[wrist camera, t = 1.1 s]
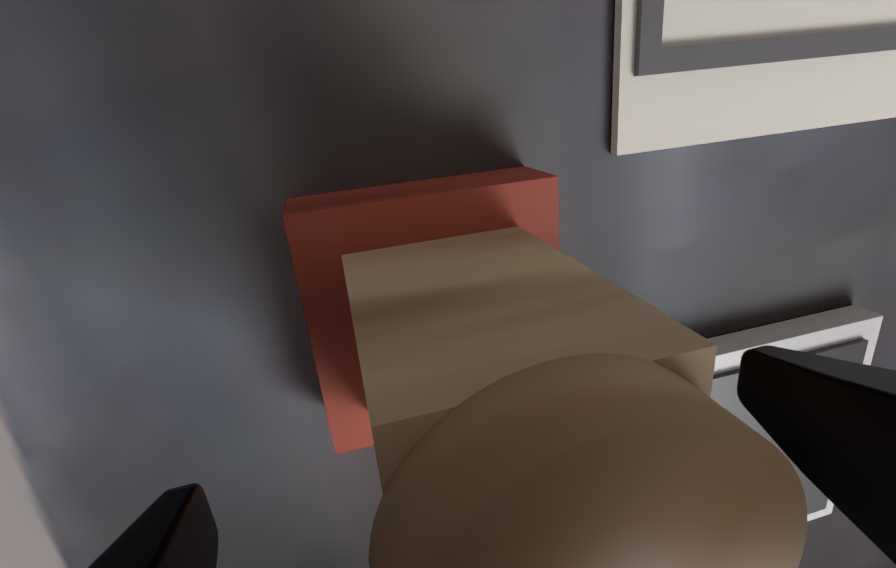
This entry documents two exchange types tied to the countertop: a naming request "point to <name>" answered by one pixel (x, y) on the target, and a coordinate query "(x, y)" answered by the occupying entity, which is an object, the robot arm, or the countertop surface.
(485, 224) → the stamp
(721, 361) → the ink pad
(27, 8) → the countertop surface
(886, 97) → the print sheet
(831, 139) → the countertop surface
